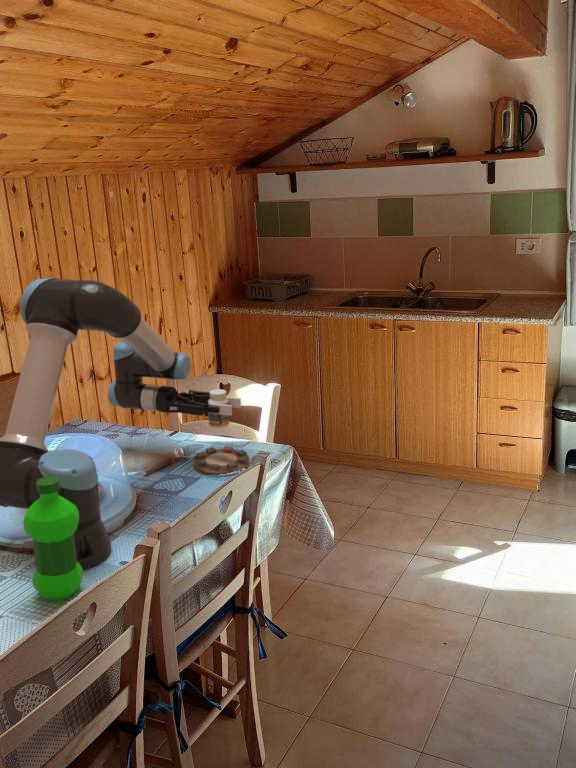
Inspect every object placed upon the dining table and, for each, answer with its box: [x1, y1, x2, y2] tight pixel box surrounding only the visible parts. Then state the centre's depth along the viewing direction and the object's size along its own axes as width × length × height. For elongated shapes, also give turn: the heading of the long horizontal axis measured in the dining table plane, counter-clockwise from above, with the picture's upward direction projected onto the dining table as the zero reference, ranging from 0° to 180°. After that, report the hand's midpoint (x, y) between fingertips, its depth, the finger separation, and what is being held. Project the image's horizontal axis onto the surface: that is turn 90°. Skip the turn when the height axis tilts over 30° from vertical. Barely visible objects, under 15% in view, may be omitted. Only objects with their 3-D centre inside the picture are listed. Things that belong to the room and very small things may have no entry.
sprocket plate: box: [192, 446, 251, 476], centre depth 215 cm, size 16×16×2 cm
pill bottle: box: [208, 388, 230, 429], centre depth 210 cm, size 6×6×10 cm
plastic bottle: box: [22, 476, 84, 602], centre depth 150 cm, size 10×10×25 cm
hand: (235, 406), depth 208 cm, fingers closed on pill bottle, 6 cm apart
